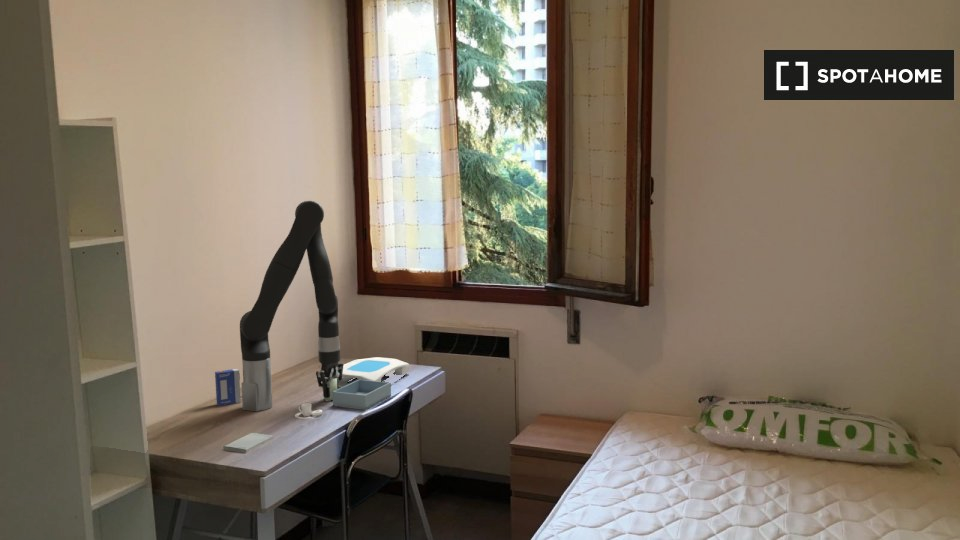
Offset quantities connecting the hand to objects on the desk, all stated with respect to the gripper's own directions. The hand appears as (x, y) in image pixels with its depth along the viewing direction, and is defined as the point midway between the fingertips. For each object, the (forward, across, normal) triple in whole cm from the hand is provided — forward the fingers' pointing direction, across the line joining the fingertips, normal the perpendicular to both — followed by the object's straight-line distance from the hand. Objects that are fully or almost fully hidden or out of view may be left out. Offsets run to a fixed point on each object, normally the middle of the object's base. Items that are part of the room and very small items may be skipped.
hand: (330, 395), depth 262 cm
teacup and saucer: (+2, -20, -5) cm, 21 cm away
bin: (+1, +2, -12) cm, 12 cm away
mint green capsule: (+1, 0, 0) cm, 1 cm away
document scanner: (+2, +26, 0) cm, 26 cm away
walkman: (+2, -17, +31) cm, 35 cm away
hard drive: (+2, -47, -3) cm, 47 cm away
